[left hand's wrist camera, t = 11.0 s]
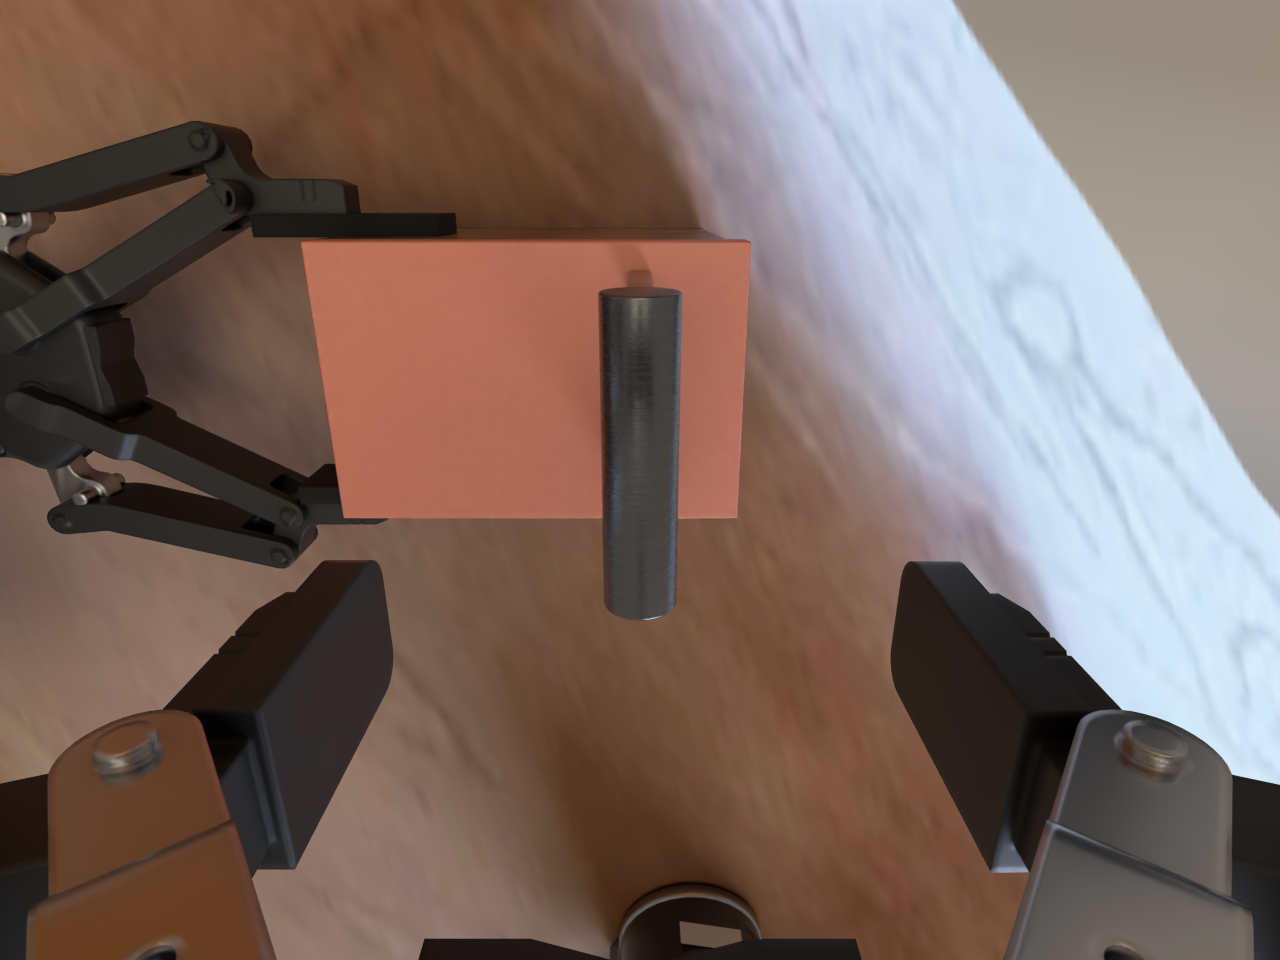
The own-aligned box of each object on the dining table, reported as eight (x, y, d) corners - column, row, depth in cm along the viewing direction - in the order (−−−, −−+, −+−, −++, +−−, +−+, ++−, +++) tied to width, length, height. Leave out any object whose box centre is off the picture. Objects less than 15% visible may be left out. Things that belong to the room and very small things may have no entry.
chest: (702, 228, 33) (727, 239, 24) (697, 428, 37) (716, 505, 27) (405, 228, 33) (315, 239, 24) (426, 428, 37) (355, 505, 27)
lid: (746, 239, 24) (806, 261, 15) (733, 505, 27) (776, 645, 19) (315, 239, 24) (134, 261, 15) (354, 506, 27) (225, 645, 19)
